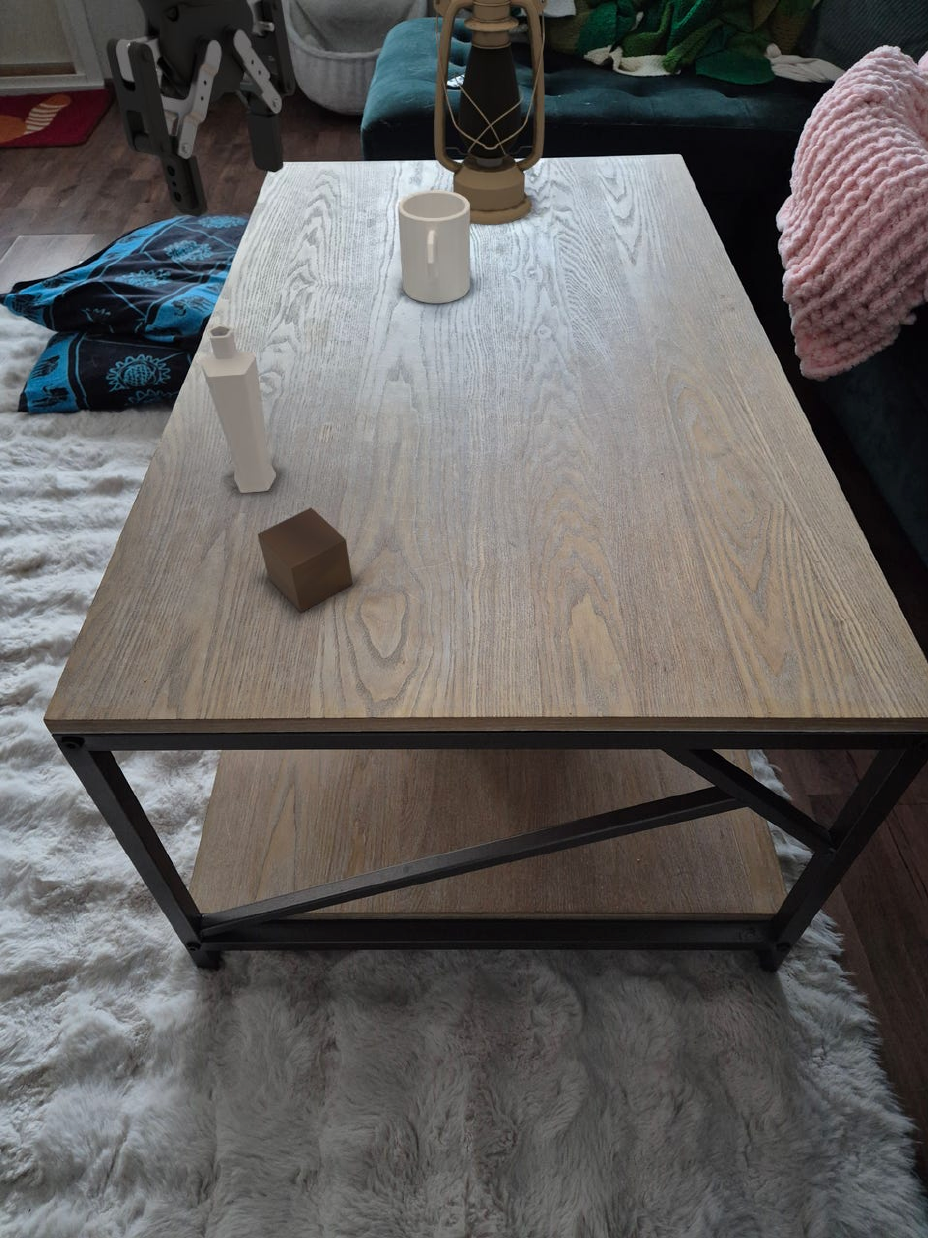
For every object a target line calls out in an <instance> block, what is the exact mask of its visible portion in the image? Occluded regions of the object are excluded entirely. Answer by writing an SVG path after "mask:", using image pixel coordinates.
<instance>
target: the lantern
mask: <svg viewBox="0 0 928 1238" xmlns="http://www.w3.org/2000/svg"><path fill="white" fill-rule="evenodd" d="M547 6H548V0H433V8H434V10H435V11H436V18H435V19H436V20H435V38H436V50H437V61H436V63H437V64H436V79H435V94H434V95H435V96H434V118H433V119H434V121H433V123H434V125H433V126H434V128H433V130H434V132H433V133H434V134H433V135H434V136H433V137H434V139H433V140H434V142H433V143H434V145H433V146H434V154H435V155H434V156H435V160H437V162H438V163H439V164H440V166H442V168H444V169H446V170H447V171H448V172H451V173H453V175H452V176H453V177H452V182H453V183H452V185H453V187H452V188H453V190H452V192H454V193H457V194H460V195H461V196H463V197H465V198H466V199H467V200H468V202H469V203H470V224H476V225H502V224H507V223H512V222H516V221H518V220H520V219H522V218H525V217H526V216H527V215H528V214H529V213H530V212H531V210H532V205H533V204H532V202H531V200H530V198H529V196H528V194H526V192H525V187H526V186H525V185H526V184H525V183H526V181H525V179H526V174H525V172H526V171H528V170H530V169H531V168H533V167H534V166H535V165H536V164H538V162H539V161H540V160H541V158H542V157H543V153H544V152H543V151H544V144H545V122H546V121H545V70H544V68H545V67H544V46H545V40H546V39H545V36H546V35H545V12H544V11H545V9H546V8H547ZM511 8H520V9H522V10H523V11H524V13H525V15H526V20H527V27H528V33H529V43H530V55H531V69H532V94H531V98H530V103H529V108H528V111H527V113H526V117H525V120H524V123H523V125H522V126H521V124H522V106H521V105H522V104H521V103H522V102H523V99H524V93H523V90H522V88H521V87H520V86H519V83H518V76H517V71H516V65H515V59H514V56H513V51H512V48H511V44H512V40H511V39H510V30H512V29H515V28H517V27H518V26H519V23H520V22H519V20H518V18H515V17H514V16H511ZM463 9H471V11H472V13H471V14H472V15H471V16H468V17H467V18H465V19H464V20H463V25H464V27H466V28H468V29H470V30H472V39H471V40H470V44H471V46H470V49H469V53H468V57H467V61H466V64H465V70H464V75H461V74H460V73H459V72H457V71H453V78H454V80H455V82H456V83H457V85H458V86H459V88H460V89H461V90H460V96H459V103H458V110H457V123H456V121H455V118H454V115H453V111H452V108H451V104H450V100H449V96H448V80H449V68H450V67H449V65H450V57H451V49H452V40H453V39H452V37H453V32H454V28H455V23H456V17H457V15H458V13H459V12H460V10H463ZM540 13H541V19H542V20H541V22H542V29H541V22H540V15H539V14H540ZM439 15H440V16H442V23H441V29H440V35H438V25H439V24H438V23H439ZM456 75H458V76H459V77H460V78H462V79H463V80H462V85H461V84H460V83H459V81H458V79H457V77H456ZM520 93H521V96H520ZM447 105H448V110H449V112H450V115H451V119H452V122H453V124H454V127H455V128H456V129H457V131H458V133H459V137H460V139H461V141H462V143H463V144H464V146H465V147H466V148H467V149H468V150H467V153H462V152H461V151H460V149H459V148H458V147H446V117H447V116H446V114H447ZM532 106H533V130H532V131H533V134H532V135H533V136H532V145H524V146H523V145H522V146H520V147H519V148H518V150H517V151H516V152H510V149H511V148H513V146H514V145H515V144H516V142H517V140H518V139H519V135H520V132H521V131H522V130H523V128H524V127H525V126H526V124H527V122H528V119H529V116H530V112H531V107H532ZM523 148H532V149H531V153H530V154H529V155H528V156H526V157H525V158H523V159H520V160H518V161H517V160H516V159H515V158H514V157H512V156H510V155H517V154H519V152H520V151H521V150H522V149H523ZM453 149H454V150H457V151H458V153H459V154H460V155H463V156H466V157H465V158H464V159H462V161H461V162H459V161H456V160H455V159H452V158H451V157H450V156H449V155H448V154H447V152H446V151H447V150H453Z"/></svg>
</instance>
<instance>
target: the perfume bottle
mask: <svg viewBox="0 0 928 1238" xmlns="http://www.w3.org/2000/svg"><path fill="white" fill-rule="evenodd" d="M234 330H235V328H234V327H232V326H229V325H226V324H222V323H221V324H217V325H215V326H213V327H210V328H208V329H207V330H206V333H207V336H208V337H209V341H210V345H211V348H212V352H211V353H209V354H207V355H205V356H203V357H201V358H200V359H199V363H200V364H199V365H200V367H201V370H202V372H203V376H204V378H205V381H206V385H207V388H208V390H209V393H210V396H211V399H212V402H213V406H214V408H215V412H216V414H217V417H218V420H219V423H220V426H221V429H222V433H223V435H224V438H225V441H226V444H227V447H228V450H229V453H230V456H231V458H232V462H233V465H234V474H233V475H234V476H233V480H234V482H235V484H236V486H237V488H238V491H239V492H240V493H241V494H247V493H249V494H250V493H261V492H267V491H269V490H270V489H271V486H272V485H273V483H274V481H275V479H276V477H277V473H276V471H275V469H274V467H273V466H272V464H271V462H270V455H269V447H268V440H267V431H266V425H265V416H264V407H263V400H262V393H261V385H260V377H259V369H258V362H257V355H256V354H253V353H251V352H248V351H244V350H241V349H238V348H237V345H236V344H237V343H236V341H235V335H234Z"/></svg>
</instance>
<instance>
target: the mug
mask: <svg viewBox="0 0 928 1238" xmlns="http://www.w3.org/2000/svg"><path fill="white" fill-rule="evenodd" d="M397 216H398V229H399V231H398V232H399V245H400V262H401V264H400V265H401V280H402V289H403V292H404V293H405V294H406V295H407V296H408V297H409V298H410V299H412V300H415V301H418V302H420V303H426V304H444V303H451V302H454V301H457V300H460V299H461V298H463V297H464V296H465V295H467V293H468V292H469V291H470V287H471V223H470V203H469V202H468V200H467V199H466V198H465V197H463V196H461V195H460V194H457V193H454V192H453V191H449V190H443V189H428V190H420V191H416V192H413V193H410V194H408V195H407V196H404V197H403V198H402V199H401V200H400V201H399V202H398V206H397Z"/></svg>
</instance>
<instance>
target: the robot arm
mask: <svg viewBox="0 0 928 1238" xmlns="http://www.w3.org/2000/svg"><path fill="white" fill-rule="evenodd" d="M136 1H137V3H138V4H139V6H140V8H141V10H142V12H143V17H144V33H143V36H142V37H136V38H133V39H130V40H129V39H124V38H122V39H121V38H115V37H111V38H110V39H108V41H107V43H106V47H105V50H106V55H107V59H108V62H109V69H110V72H111V77H112V81H113V85H114V90H115V94H116V98H117V102H118V107H119V110H120V111H119V112H120V115H121V119H122V124H123V128H124V133H125V137H126V142H127V145H128V147H129V149H130V150H132V151H134V152H137V153H143V154H148V155H152V156H156V157H158V158H159V160H160V163H161V167H162V170H163V175H164V179H165V183H166V187H167V190H168V196H169V199H170V201H171V203H172V205H173V206H174V208H176V209H177V210H178V212H179V213H181V214H183V215H188V216H191V217H195V218H200V217H201V216H203V215H205V214H207V213H208V211H209V210H208V209H209V208H208V203H207V198H206V193H205V190H204V189H205V188H204V185H203V180H202V177H201V176H202V175H201V171H200V167H199V163H198V158H197V155H193V150H194V147H195V146H194V145H195V142H196V136H197V130H198V126H199V125H200V124H201V123H203V122H204V121H205V119H206V117H207V113H208V108H209V103H210V104H212V103H213V102H216V101H218V100H219V99H220V98H221V97H222V96H223V95H224V94H225V93H235V94H236V95H237V96H238V98H239V99H240V101H241V102H242V103H243V104H244V106H245V107H246V108H248V109H250V110H248V111H246V112H244V115H245V120H246V126H247V132H248V137H249V143H250V148H251V149H250V150H251V155H252V160H253V164H254V166H255V167H256V168H257V170H260V171H265V172H269V173H274V174H275V173H278V172H279V171H281V170H283V168H284V165H285V164H284V146H283V144H284V143H283V139H282V132H281V126H280V125H281V124H280V118H279V113H280V112H281V110H282V107H283V102H282V101H283V99H284V98H285V97H286V96H289V97H290V96H293V95H294V93H295V91H296V80H295V73H294V67H293V62H292V61H293V60H292V55H291V50H290V49H291V48H290V44H289V43H290V42H289V37H288V32H287V31H288V30H287V26H286V20H285V14H284V8H283V7H284V6H283V2H282V0H136ZM270 57H271V58H272V59H273V60H274V63H275V68H276V72H273V71H272V67H271V65H272V64H271V61H270ZM175 90H176V91H177V92H178V93H179V94H180V95H181V96H183V97H185V99H177V98H174V93H175ZM143 116H144V118H143ZM144 119H145V124H146V128H147V130H146V128H145V124H144ZM176 119H178V120H177V125H176V130H175V134H173V128H174V122H175V120H176Z"/></svg>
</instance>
